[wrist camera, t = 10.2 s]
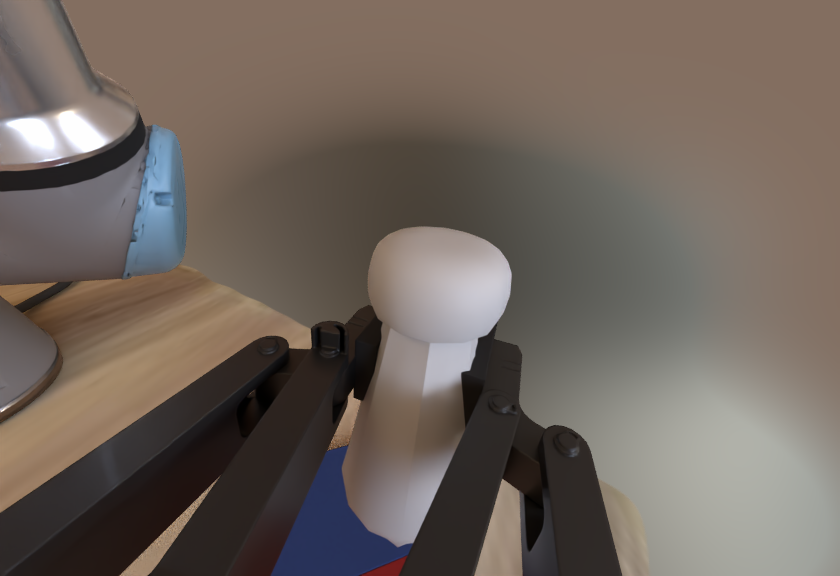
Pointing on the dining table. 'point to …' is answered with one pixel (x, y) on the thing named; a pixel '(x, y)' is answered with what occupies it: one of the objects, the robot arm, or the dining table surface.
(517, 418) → the robot arm
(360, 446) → the salt shaker
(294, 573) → the sorting mat
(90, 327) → the dining table surface
